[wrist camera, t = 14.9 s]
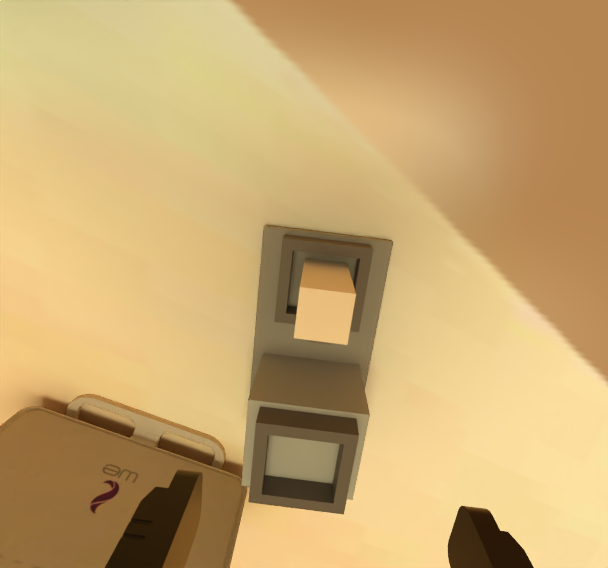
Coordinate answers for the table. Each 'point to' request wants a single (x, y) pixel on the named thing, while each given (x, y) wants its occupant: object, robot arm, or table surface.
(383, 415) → the table surface
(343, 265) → the plug
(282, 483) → the grey stepped block
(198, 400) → the table surface
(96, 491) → the network device
